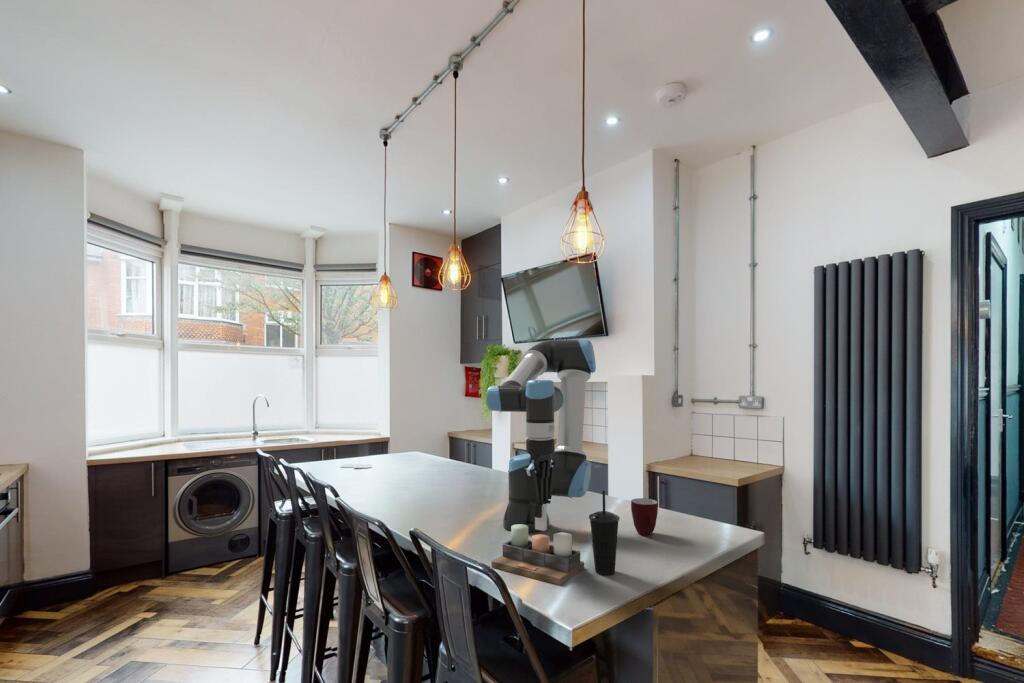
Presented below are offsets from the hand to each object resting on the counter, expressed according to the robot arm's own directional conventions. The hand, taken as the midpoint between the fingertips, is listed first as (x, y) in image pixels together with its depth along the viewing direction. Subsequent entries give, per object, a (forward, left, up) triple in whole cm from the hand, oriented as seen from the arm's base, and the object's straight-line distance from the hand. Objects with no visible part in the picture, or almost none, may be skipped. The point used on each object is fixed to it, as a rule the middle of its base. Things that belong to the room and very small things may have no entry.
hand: (540, 529), depth 131 cm
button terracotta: (0, 0, -7) cm, 7 cm away
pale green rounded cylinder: (-6, 0, -5) cm, 8 cm away
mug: (+15, +40, -9) cm, 43 cm away
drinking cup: (+16, +5, -9) cm, 19 cm away
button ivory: (+7, 0, -5) cm, 9 cm away
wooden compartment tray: (0, -2, -9) cm, 9 cm away
